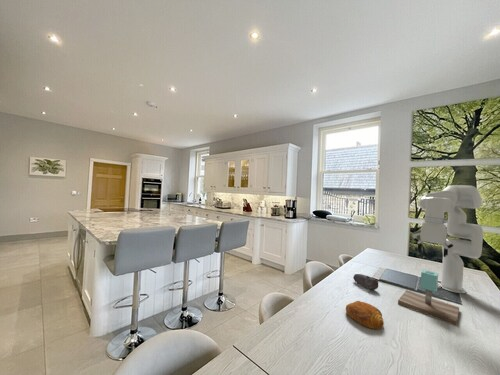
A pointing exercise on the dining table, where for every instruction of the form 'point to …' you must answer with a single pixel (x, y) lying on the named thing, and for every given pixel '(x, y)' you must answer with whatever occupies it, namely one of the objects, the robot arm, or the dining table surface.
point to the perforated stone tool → (366, 281)
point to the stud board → (430, 306)
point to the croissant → (365, 314)
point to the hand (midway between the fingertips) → (432, 253)
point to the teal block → (429, 280)
